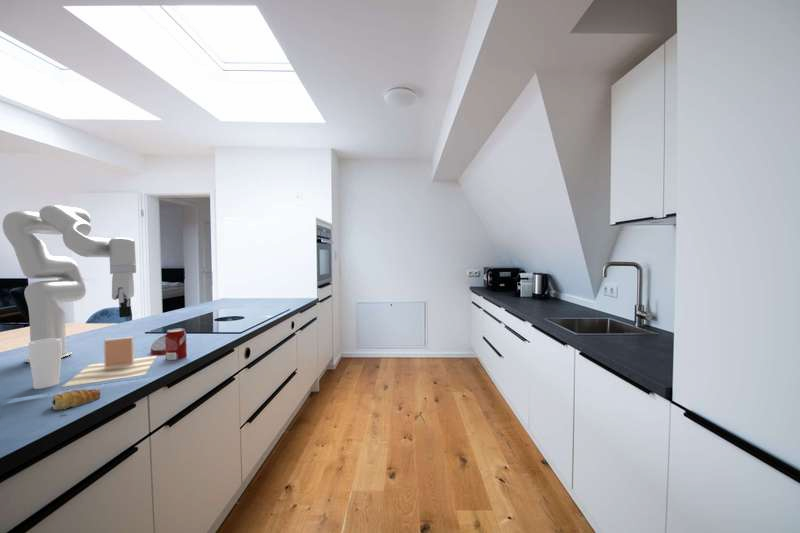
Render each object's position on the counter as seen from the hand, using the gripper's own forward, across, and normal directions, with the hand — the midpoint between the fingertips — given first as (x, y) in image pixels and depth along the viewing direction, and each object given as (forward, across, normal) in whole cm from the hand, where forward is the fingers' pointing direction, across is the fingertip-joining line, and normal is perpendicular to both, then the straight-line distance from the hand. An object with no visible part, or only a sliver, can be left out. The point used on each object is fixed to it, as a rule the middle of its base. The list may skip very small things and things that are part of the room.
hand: (125, 316), depth 120 cm
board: (+18, +12, -1) cm, 22 cm away
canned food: (+18, -6, +11) cm, 22 cm away
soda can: (+18, +7, +16) cm, 26 cm away
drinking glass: (+18, +19, -15) cm, 31 cm away
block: (+17, +7, -1) cm, 18 cm away
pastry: (+19, +38, -4) cm, 43 cm away
